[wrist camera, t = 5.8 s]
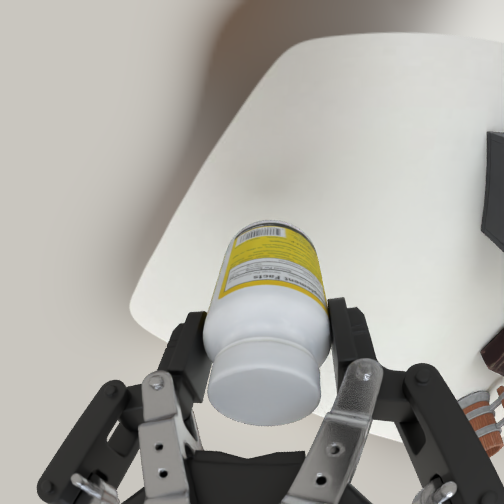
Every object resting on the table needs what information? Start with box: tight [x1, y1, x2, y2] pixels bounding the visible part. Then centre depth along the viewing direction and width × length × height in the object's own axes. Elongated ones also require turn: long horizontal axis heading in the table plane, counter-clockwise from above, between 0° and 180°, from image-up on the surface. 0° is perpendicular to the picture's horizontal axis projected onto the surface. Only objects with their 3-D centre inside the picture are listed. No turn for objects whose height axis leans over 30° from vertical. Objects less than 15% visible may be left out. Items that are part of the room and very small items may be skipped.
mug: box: [457, 386, 504, 457], centre depth 42 cm, size 14×19×15 cm
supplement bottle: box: [203, 220, 332, 426], centre depth 14 cm, size 5×5×10 cm
